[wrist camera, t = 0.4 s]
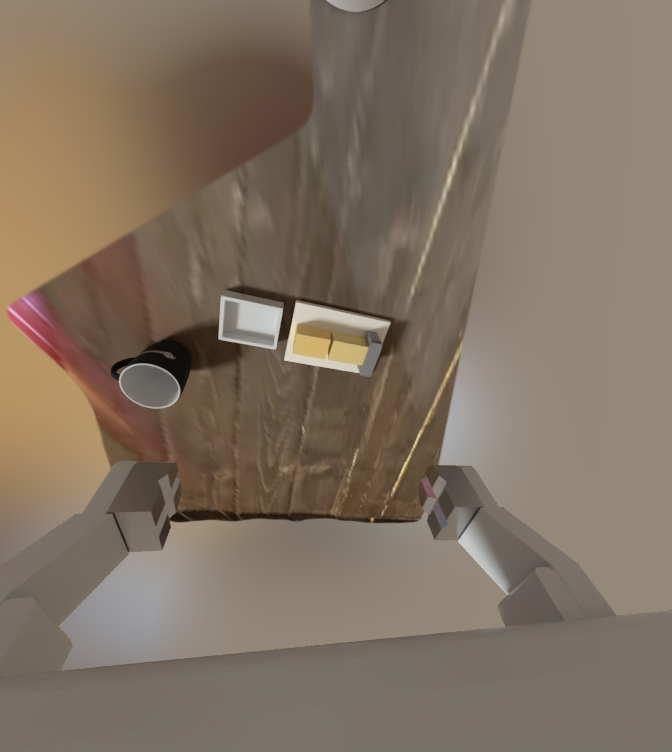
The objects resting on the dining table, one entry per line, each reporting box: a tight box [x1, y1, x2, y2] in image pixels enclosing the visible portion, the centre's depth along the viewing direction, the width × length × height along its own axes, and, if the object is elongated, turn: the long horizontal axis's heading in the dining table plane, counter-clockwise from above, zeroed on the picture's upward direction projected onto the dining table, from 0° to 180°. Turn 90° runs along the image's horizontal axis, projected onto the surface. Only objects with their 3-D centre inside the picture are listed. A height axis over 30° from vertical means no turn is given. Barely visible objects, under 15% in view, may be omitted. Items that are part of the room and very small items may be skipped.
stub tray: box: [218, 290, 284, 350], centre depth 52 cm, size 8×10×3 cm
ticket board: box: [284, 300, 391, 377], centre depth 55 cm, size 12×18×6 cm, turn 75°
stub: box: [293, 324, 331, 359], centre depth 54 cm, size 4×6×4 cm, turn 75°
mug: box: [111, 341, 191, 408], centre depth 51 cm, size 12×9×10 cm
